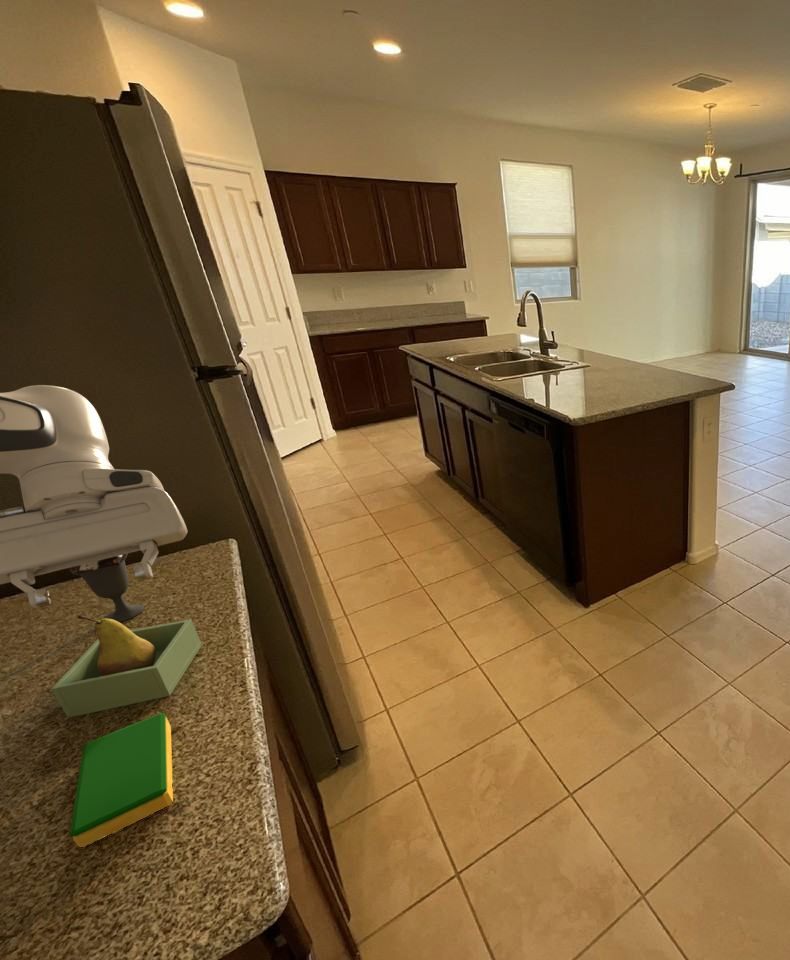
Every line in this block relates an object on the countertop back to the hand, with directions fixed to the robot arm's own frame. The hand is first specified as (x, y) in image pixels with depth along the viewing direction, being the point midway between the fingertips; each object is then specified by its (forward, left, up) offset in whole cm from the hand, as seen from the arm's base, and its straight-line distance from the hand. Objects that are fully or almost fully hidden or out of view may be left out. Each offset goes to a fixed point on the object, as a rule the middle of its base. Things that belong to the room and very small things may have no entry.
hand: (95, 591), depth 66 cm
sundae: (-10, +20, -15) cm, 27 cm away
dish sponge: (+7, -19, -15) cm, 25 cm away
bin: (0, +1, -15) cm, 15 cm away
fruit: (0, 0, -14) cm, 14 cm away
